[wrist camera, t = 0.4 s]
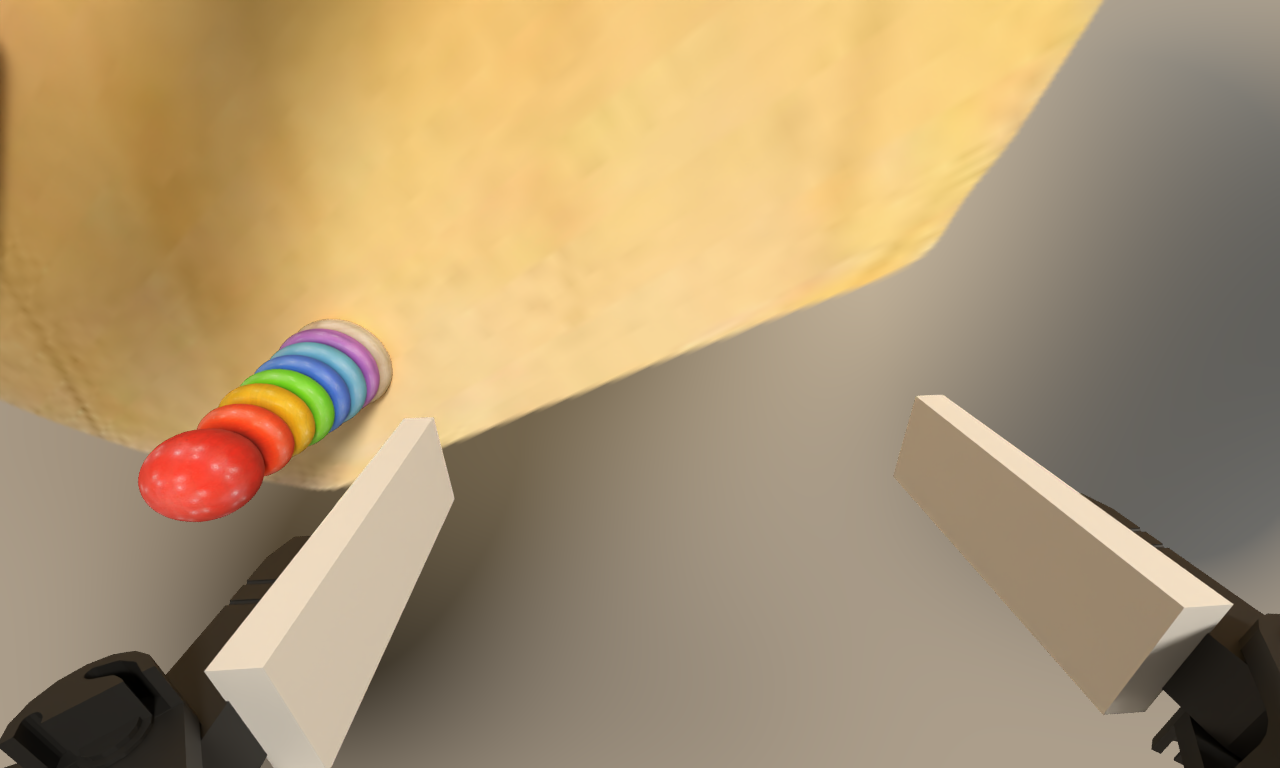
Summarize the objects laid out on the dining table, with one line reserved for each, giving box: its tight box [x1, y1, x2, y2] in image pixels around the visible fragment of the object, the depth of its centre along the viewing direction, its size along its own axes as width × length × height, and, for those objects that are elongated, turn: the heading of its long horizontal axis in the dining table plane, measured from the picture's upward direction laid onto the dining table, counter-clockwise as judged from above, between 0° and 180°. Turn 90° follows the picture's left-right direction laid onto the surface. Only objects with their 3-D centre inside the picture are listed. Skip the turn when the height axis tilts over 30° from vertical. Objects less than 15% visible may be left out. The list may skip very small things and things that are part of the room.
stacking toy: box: [138, 319, 393, 522], centre depth 32 cm, size 8×8×19 cm
